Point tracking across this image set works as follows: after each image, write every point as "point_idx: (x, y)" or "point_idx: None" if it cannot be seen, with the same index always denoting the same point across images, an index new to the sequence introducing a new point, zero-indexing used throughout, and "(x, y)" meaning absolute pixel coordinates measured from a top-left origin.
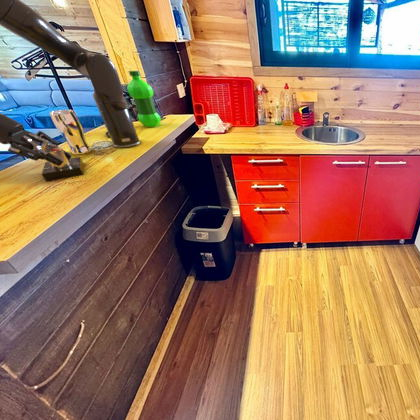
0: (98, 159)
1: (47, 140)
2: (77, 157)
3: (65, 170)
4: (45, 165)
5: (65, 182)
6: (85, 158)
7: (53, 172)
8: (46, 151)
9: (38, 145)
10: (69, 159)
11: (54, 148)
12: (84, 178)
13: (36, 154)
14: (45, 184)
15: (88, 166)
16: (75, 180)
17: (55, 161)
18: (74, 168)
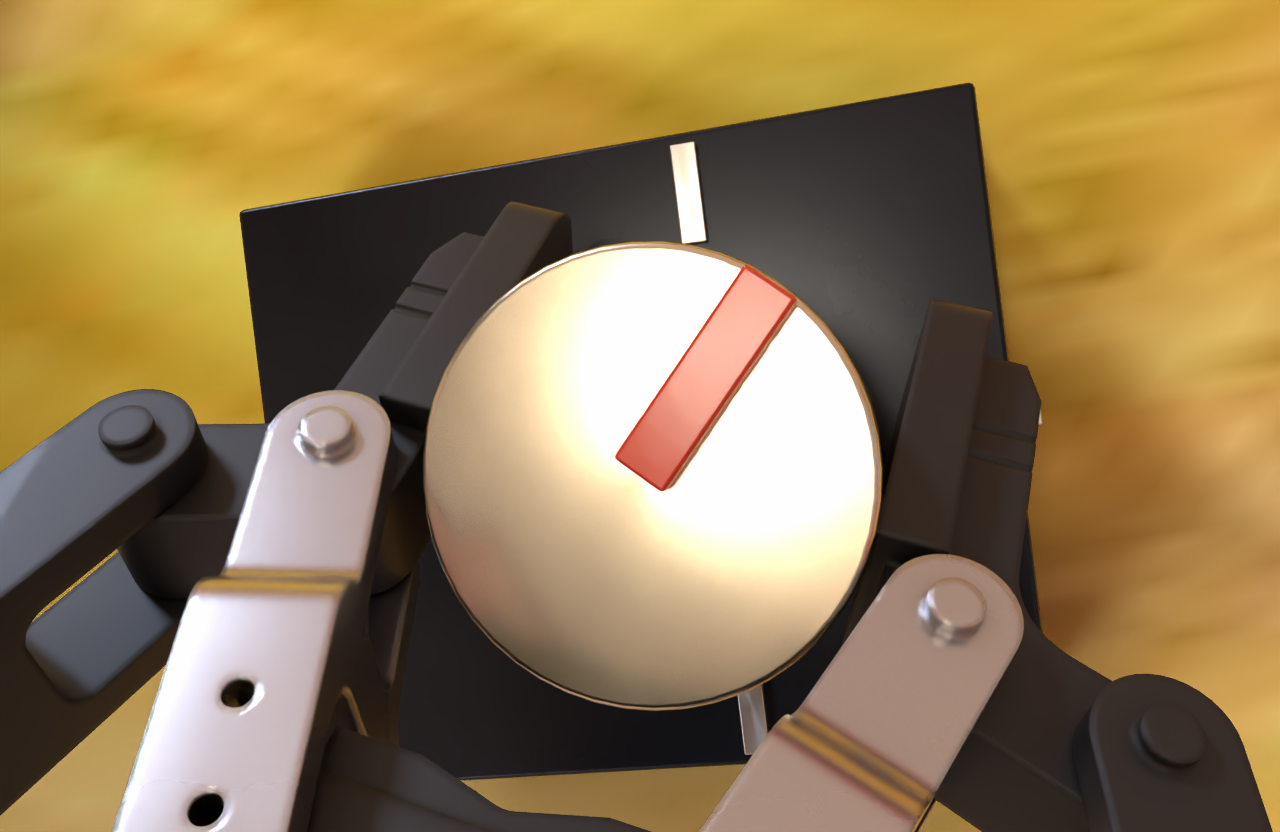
0: (202, 8)
1: (196, 603)
2: (269, 248)
3: (1003, 343)
4: (524, 754)
5: (1272, 365)
6: (56, 246)
7: (1029, 549)
8: (744, 611)
9: (779, 780)
10: (332, 379)
11: (513, 450)
12: (1211, 62)
13: (1243, 788)
14: (1203, 684)
15: (526, 115)
16: (1247, 207)
17: (1028, 432)
18: (984, 177)
